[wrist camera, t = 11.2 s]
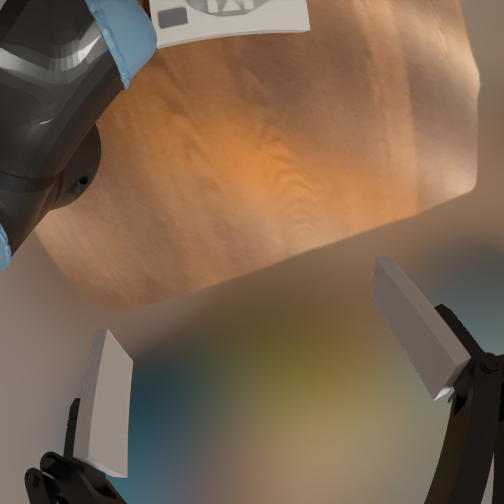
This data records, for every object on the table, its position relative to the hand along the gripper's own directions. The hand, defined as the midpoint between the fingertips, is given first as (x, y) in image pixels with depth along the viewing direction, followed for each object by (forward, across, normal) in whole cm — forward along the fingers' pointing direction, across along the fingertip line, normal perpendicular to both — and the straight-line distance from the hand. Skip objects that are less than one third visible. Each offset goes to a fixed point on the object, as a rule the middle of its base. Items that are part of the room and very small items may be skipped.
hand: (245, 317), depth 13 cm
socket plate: (+28, +6, +23) cm, 37 cm away
